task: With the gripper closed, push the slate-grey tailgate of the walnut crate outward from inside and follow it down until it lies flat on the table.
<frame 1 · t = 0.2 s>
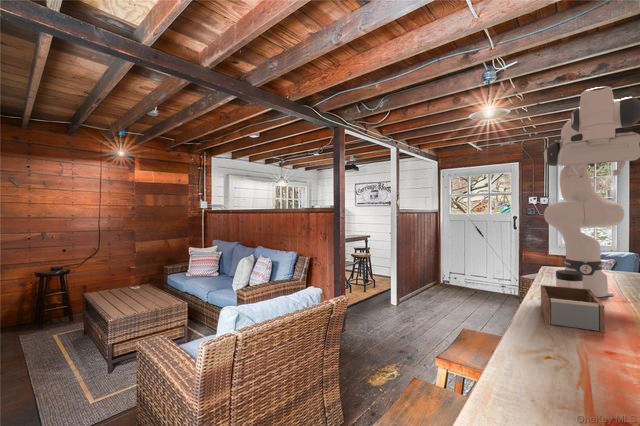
hand: (597, 176, 102), 47 cm above the table, tool pointing down, fingers open, 8 cm apart
tailgate: (573, 313, 94), point 4 cm above the table, hinge at 0.0°
crate: (569, 317, 102), on the table
jar: (569, 303, 117), on the table
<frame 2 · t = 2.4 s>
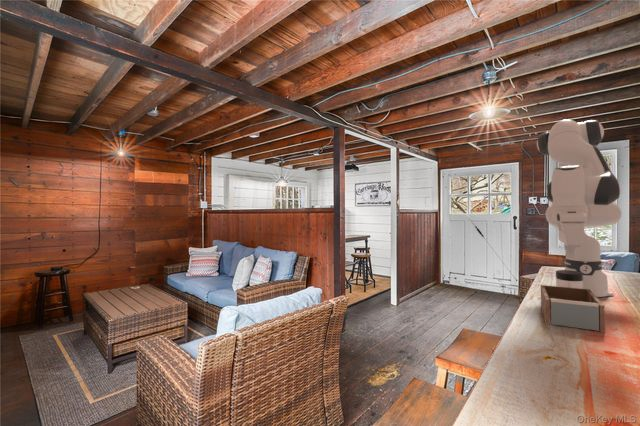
hand: (569, 257, 98), 21 cm above the table, tool pointing down, fingers closed
nothing on the table moved.
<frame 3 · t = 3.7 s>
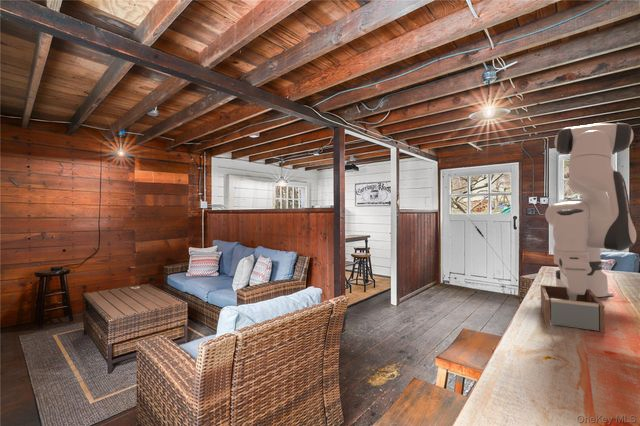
hand: (572, 301, 98), 7 cm above the table, tool pointing down, fingers closed
nothing on the table moved.
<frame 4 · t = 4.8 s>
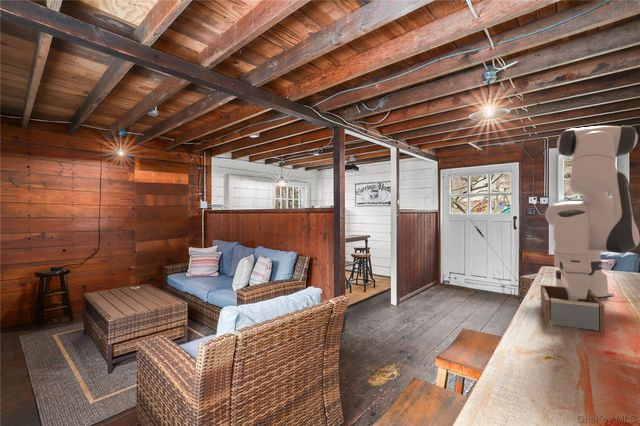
hand: (573, 305, 95), 6 cm above the table, tool pointing down, fingers closed
tailgate: (573, 313, 94), point 4 cm above the table, hinge at 0.8°, touching gripper
everything else where it was.
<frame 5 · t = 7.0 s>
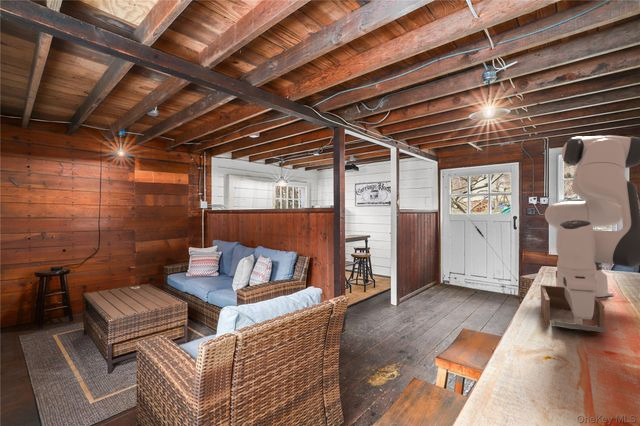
hand: (577, 323, 89), 3 cm above the table, tool pointing down, fingers closed, pressing on tailgate
tailgate: (576, 326, 90), point 2 cm above the table, hinge at 70.4°, touching gripper
everything else where it was.
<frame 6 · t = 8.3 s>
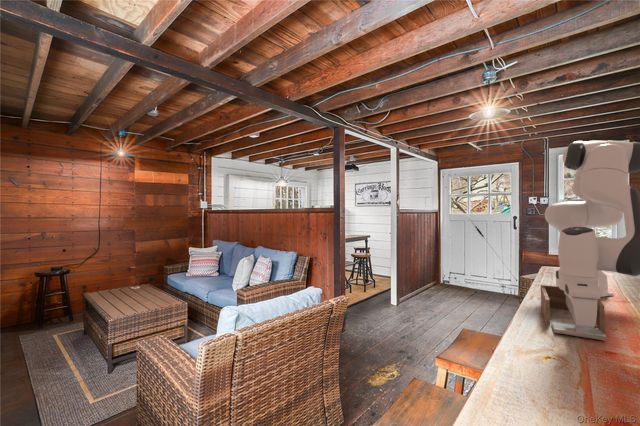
hand: (579, 332, 87), 2 cm above the table, tool pointing down, fingers closed, pressing on tailgate
tailgate: (576, 330, 90), point 1 cm above the table, hinge at 85.6°, touching gripper
everything else where it was.
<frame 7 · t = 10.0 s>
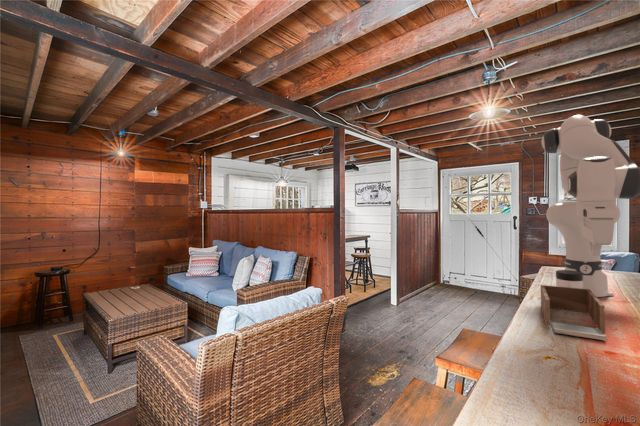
hand: (595, 255, 93), 22 cm above the table, tool pointing down, fingers closed
tailgate: (576, 330, 90), point 1 cm above the table, hinge at 85.6°
everything else where it was.
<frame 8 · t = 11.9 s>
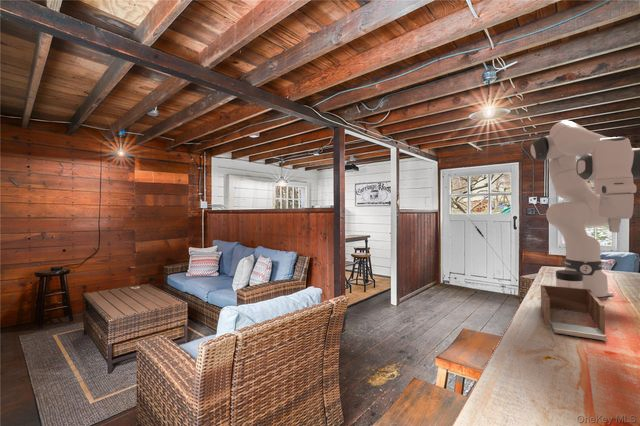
hand: (614, 232, 95), 29 cm above the table, tool pointing down, fingers closed
nothing on the table moved.
at the end: tailgate at +86° (first picture: +0°); jar moved 0.2 cm from its start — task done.
